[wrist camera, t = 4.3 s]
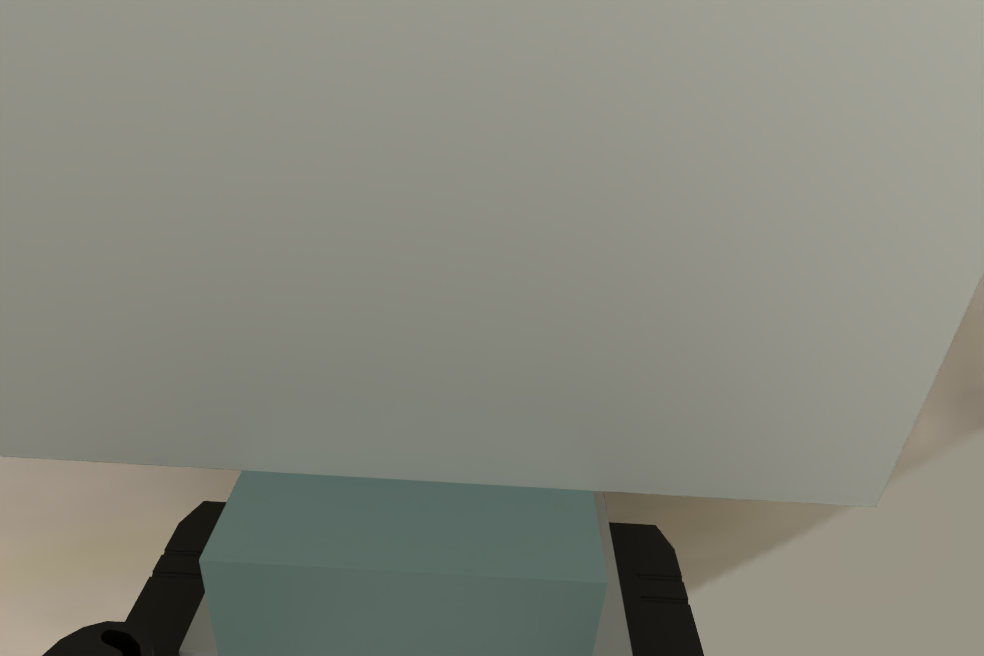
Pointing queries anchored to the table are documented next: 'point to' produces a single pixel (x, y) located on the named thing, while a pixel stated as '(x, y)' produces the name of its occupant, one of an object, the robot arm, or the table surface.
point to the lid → (478, 279)
